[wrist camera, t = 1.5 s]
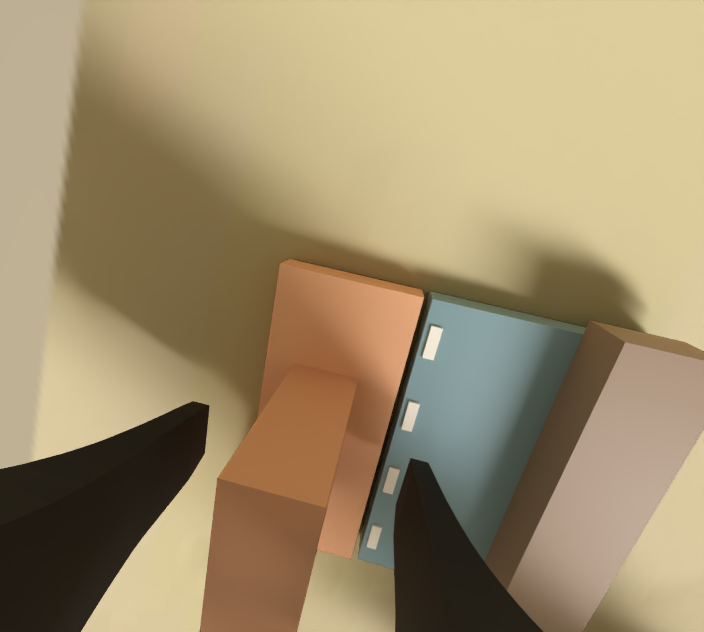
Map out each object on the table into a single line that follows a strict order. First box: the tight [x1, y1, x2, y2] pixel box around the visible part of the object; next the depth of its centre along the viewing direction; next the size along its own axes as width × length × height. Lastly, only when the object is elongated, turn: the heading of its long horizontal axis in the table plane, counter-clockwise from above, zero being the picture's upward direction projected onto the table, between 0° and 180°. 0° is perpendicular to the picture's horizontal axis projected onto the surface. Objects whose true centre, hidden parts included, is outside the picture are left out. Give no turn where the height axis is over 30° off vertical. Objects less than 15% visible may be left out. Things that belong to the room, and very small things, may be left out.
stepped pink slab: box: [200, 259, 424, 632], centre depth 12 cm, size 5×12×7 cm, turn 168°
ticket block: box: [358, 291, 704, 632], centre depth 14 cm, size 8×13×3 cm, turn 168°
